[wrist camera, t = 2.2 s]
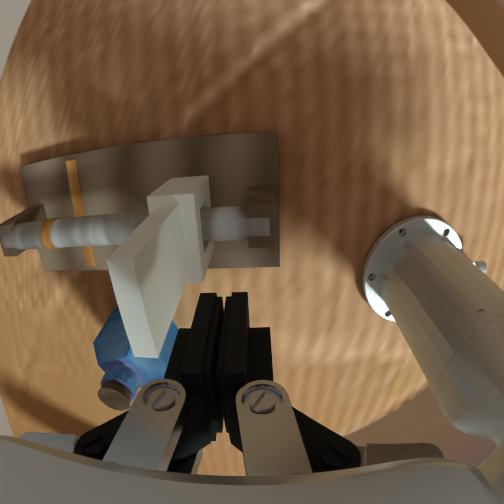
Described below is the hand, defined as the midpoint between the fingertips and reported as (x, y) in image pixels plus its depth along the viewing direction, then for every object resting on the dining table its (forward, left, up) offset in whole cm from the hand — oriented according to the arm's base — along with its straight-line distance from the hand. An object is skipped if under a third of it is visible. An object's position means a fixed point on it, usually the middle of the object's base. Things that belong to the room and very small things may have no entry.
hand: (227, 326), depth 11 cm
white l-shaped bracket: (+4, 0, -15) cm, 16 cm away
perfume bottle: (+12, +14, -19) cm, 27 cm away
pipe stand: (+10, 0, -19) cm, 22 cm away
